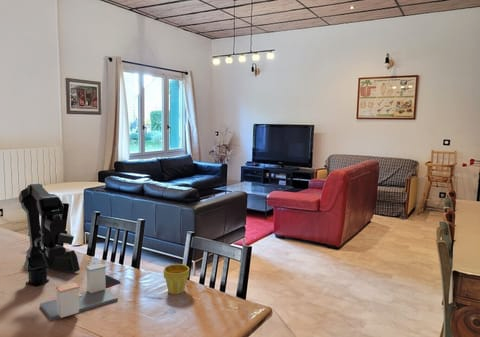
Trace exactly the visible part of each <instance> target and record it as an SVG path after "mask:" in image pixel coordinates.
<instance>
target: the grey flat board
mask: <svg viewBox="0 0 480 337" xmlns="http://www.w3.org/2000/svg"><path fill="white" fill-rule="evenodd" d="M118 300H119V299H118V296H116V295H115V294H113V293H112V291H110V290H109V289H107V288H106V289H105V290H101V291H97V292H94V293H90V292H89V291H87V290H86V291H82V292H79V313H82V312H84V311H88V310H91V309H93V308H94V309H95V308H97V307H101V306H104V305H108V304H112V303H115V302H118ZM39 307H40V309H41V310H42V311H43V312H44V314H45V315H46V316H47V317H48V318H49V320H50V321H54V320H57V319H62V318H61V317H60V316H59V315H58V314H57V298H56V299H53V300H49V301H46V302H41V303H39Z"/></svg>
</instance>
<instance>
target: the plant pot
mask: <svg viewBox="0 0 480 337" xmlns="http://www.w3.org/2000/svg"><path fill="white" fill-rule="evenodd" d="M189 277H190V266H187V265H186V264H181V263H174V264H169V265H167V266H165V267H164V268H163V278H164V279H165V282H166V287H167V292H168V294H171V295H180V293H181V294H183V293H184V292H185V290H186V285H187V280H188V279H189Z"/></svg>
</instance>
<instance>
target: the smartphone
mask: <svg viewBox="0 0 480 337" xmlns="http://www.w3.org/2000/svg"><path fill="white" fill-rule="evenodd" d="M105 280H106V289H107V288H110V287H113V286H115V285H116V286H117V285H119V284H120V283H121V281H120V280H118V279H116V278H114V277H111V276H109V275H107V274H105Z"/></svg>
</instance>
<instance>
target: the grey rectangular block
mask: <svg viewBox="0 0 480 337" xmlns="http://www.w3.org/2000/svg"><path fill="white" fill-rule="evenodd" d="M85 269H86V291H89V292H90V293H94V292H97V291H101V290H105V289H107V288H106V280H105V275H106V269H107V266H106V265H105V264H103V263H96V264H93V265H88V266H86V267H85Z"/></svg>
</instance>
